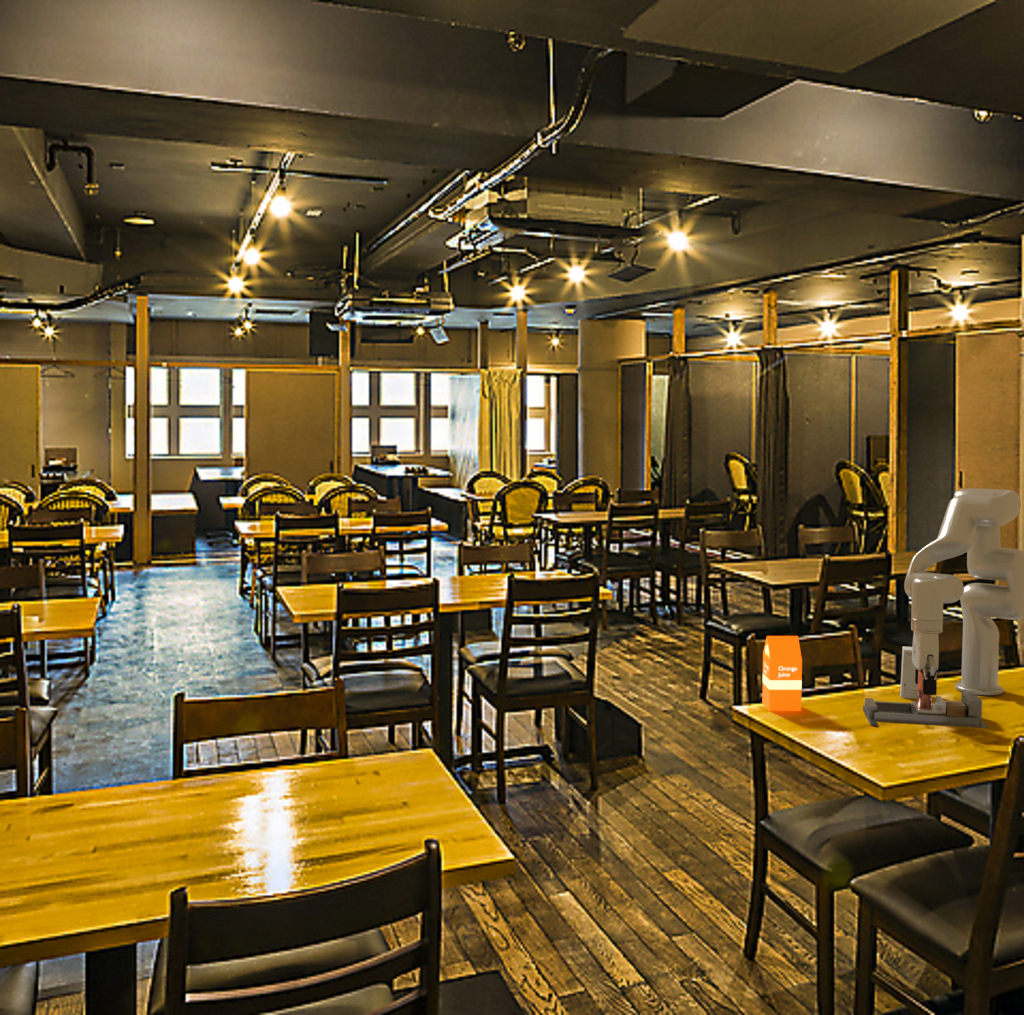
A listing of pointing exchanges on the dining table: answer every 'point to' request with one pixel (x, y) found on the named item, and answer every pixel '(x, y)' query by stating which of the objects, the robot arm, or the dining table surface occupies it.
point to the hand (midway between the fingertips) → (925, 689)
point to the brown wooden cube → (955, 708)
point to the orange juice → (782, 674)
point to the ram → (927, 701)
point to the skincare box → (908, 675)
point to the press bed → (903, 714)
